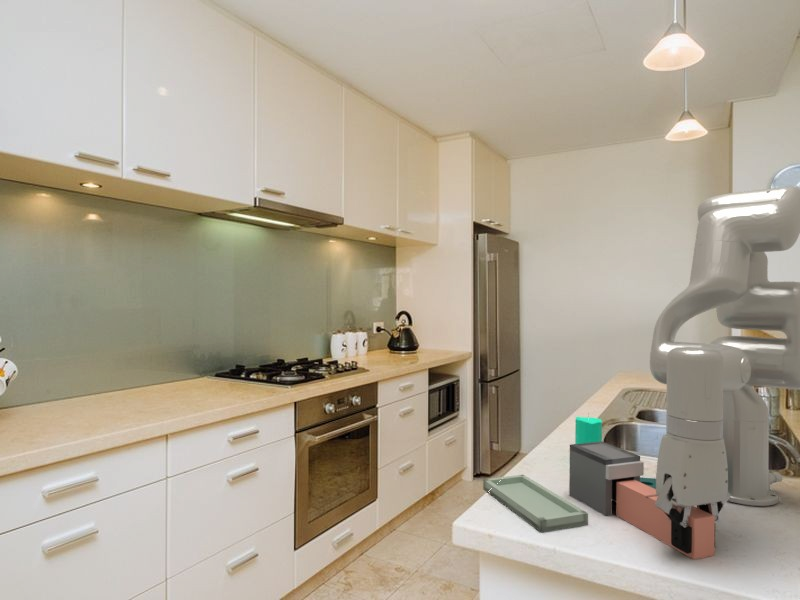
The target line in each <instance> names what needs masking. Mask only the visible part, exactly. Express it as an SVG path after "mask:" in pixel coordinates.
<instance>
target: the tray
mask: <svg viewBox="0 0 800 600" xmlns="http://www.w3.org/2000/svg"><path fill="white" fill-rule="evenodd" d="M502 478H503V479H502ZM482 480H483V481H482V484H483V485H482V489H483V490H484V491H485V492H486V493H487V494H489V495H491V496H492V497H493V498H494V499H496V500H497V501H499V502H500V503H501V504H502V505H504V506H505V507H506V508H508V509H509V510H510V511H512V512H513V513H514V514H516V515H518V517H520V518H521V519H523V520H524V521H525V522H526V523H528V524H529V525H530V526H532V527H533V528H534V529H536V530H537V531H538V532H539V533H542V534H543V533H547V532H552V531H558V530H565V529H570V528H577V527H582V526H588V525H589V512H588V511H585V510H584V509H582V508H580V507H578V506H577V505H575V504H574V503H572V502H570V501H569V500H567V499H565V498H564V497H562V496H560V495H558V494H557V493H556V492H554V491H552V490H550V489H549V488H546V487H545V486H543V485H542V484H540V483H539V482H536V481H535V480H534V479H531V478H530V477H529V476H527V475H524V474H518V475H517V474H516V475H508V476H500V477H493V478H483V479H482ZM500 480H501V481H500ZM499 481H500V482H499ZM497 483H498V484H497ZM491 488H492V489H491ZM490 489H491V490H490ZM489 490H490V491H489ZM488 491H489V492H490V493H489V492H488Z"/></svg>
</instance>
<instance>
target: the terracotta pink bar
mask: <svg viewBox="0 0 800 600" xmlns="http://www.w3.org/2000/svg"><path fill="white" fill-rule="evenodd" d="M657 498H658V496H657V494H656V489H654V488H652V487H650V486H647V485H645V484H643V483H641V482H638V481H636V480H628V481H621V482H617V494H616V502H615V503H616V505H615V508H616V509H615V510H616V511H615V514H616V517H618V518H620V519H622V520H624V521H625V522H627V523H629V524H630V525H632V526H634V527H636V528H638V529H640V530H641V531H643V532H645V533H647V534H649V536H652V537H654V539H657V540H659V541H661V542H663V543H664V544H666V545H668V546H669V547H672V548H673V549H675V550H676V551H679V552H680V553H682V554H684V555H686V556H687V557H689V558H691V559H693V560H698V559H699V560H700V559H704V558H709V557H712V556H713V557H715V548H714V544H715V545H716V522H715V516H714V515H712V514H709V513H707V512H705V511H703V510H701V509H698V508H697V506H691V511H690V518H689V524H688V526H690V527H692V544H691V553H689V554H687V553H685V552H683V551H681V550H680V549H678V548H676V547H674V546H673V545H672V544H671V520H669V519H668V516H667V515H666V514H665V513H664V512H663V511H662V510H660V509H659V508H657V507H656V506H655V502H656V500H657ZM681 510H682V508H680V507H678V510H677V511H678V512H679V513H680V514H681Z"/></svg>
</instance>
